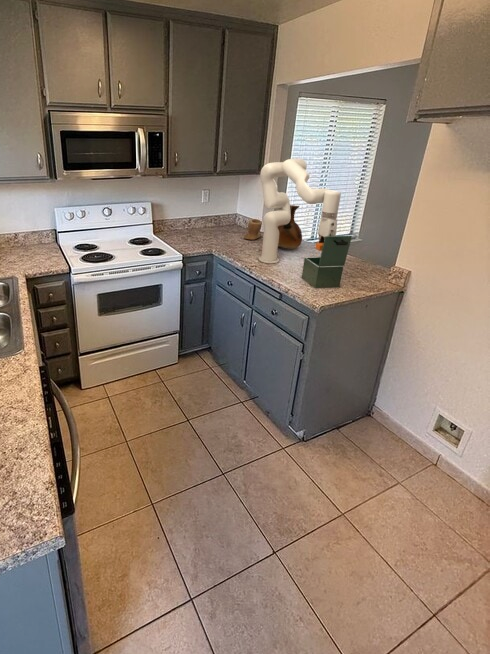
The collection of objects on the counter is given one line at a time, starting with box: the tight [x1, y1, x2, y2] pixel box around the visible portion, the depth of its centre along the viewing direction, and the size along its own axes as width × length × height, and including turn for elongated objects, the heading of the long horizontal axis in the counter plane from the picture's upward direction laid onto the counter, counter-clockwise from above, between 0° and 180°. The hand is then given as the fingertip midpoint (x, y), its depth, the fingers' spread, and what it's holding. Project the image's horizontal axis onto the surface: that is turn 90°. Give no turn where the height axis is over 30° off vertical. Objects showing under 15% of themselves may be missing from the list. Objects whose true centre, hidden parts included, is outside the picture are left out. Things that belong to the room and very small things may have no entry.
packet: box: [314, 242, 324, 252], centre depth 189 cm, size 7×4×3 cm, turn 96°
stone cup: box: [243, 218, 263, 241], centre depth 272 cm, size 15×12×15 cm
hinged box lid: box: [319, 235, 353, 267], centre depth 178 cm, size 16×14×5 cm
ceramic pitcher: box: [278, 204, 303, 250], centre depth 249 cm, size 20×20×30 cm
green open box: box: [301, 256, 345, 289], centre depth 193 cm, size 16×14×12 cm
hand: (323, 248), depth 190 cm, fingers closed on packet, 4 cm apart
